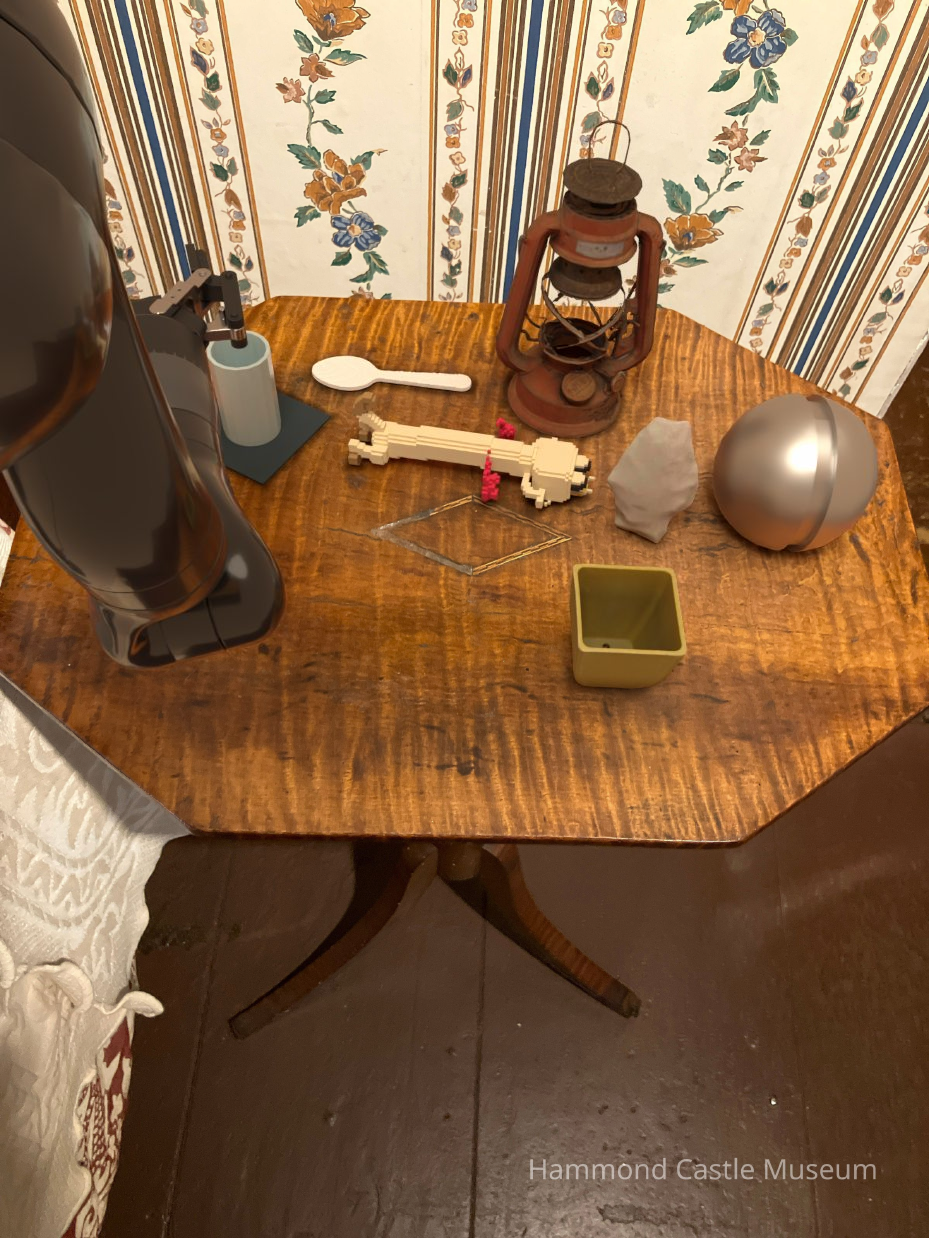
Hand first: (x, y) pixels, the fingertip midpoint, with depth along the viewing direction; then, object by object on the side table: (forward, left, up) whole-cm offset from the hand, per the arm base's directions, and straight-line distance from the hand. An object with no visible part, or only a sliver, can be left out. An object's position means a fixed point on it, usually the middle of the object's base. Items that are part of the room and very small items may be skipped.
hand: (133, 260), depth 67 cm
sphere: (+29, -51, -26) cm, 64 cm away
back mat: (+11, +1, -26) cm, 28 cm away
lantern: (+34, -25, -26) cm, 49 cm away
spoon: (+25, -7, -26) cm, 37 cm away
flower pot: (+4, -44, -26) cm, 51 cm away
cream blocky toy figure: (+18, -22, -26) cm, 38 cm away
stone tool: (+20, -40, -26) cm, 51 cm away
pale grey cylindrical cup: (+11, +1, -26) cm, 28 cm away
